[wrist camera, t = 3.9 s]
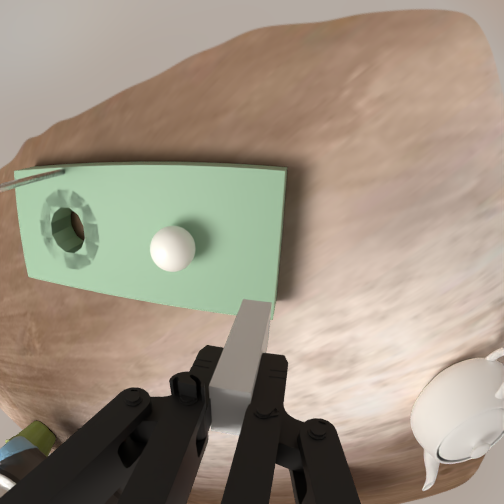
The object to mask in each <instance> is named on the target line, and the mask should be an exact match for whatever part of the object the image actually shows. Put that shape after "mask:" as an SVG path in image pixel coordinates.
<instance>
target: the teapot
mask: <svg viewBox="0 0 504 504" xmlns="http://www.w3.org/2000/svg"><path fill="white" fill-rule="evenodd" d="M502 356H504V347H503V348H500V349H498V350H496V351H494V352H492V353H491V354H489V355H488V356H487V357H485V358H473V359H468V360H465V361H461V362H459V363H456V364H454V365H452V366H450V367H448V368H446V369H445V370H443V371H442V372H440V373H439V374H438V375H437V376H436V377H435V378H434V379H433V380H432V381H431V382H430V383H429V384H428V385H427V386H426V387H425V388H424V389H423V391H422V392H421V393H420V395H419V396H418V398H417V400H416V402H415V404H414V406H413V409H412V413H411V428H412V431H413V434H414V436H415V438H416V440H417V441H418V442H419V444H420V445H421V446H422V447H423V448H424V462H425V467H426V482H425V484H424V487H423V489H422V491H426V490H427V489H429V488H430V487H431V486H432V485H433V484H434V482H435V480H436V477H437V473H438V469H439V464H440V463H445V464H454V463H460V462H464V461H467V460H470V459H476V458H479V457H481V456H483V455H484V454H486V453H487V452H488V451H489V449H490V448H491V447H492V446H494V445H495V444H496V443H497V442H498V441H499V440H500V439H501V438H502V437H503V436H504V365H503V364H502V363H500V362H499V361H497V360H496V359H498V358H500V357H502Z"/></svg>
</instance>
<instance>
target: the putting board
mask: <svg viewBox="0 0 504 504" xmlns="http://www.w3.org/2000/svg"><path fill="white" fill-rule="evenodd" d="M59 169H64V171H65V174H64V175H62V176H58V177H53V178H50V179H46V180H42V181H38V182H34V183H31V184H27V185H23V186H20V187H16V188H15V190H16V201H17V210H18V218H19V226H20V233H21V239H22V246H23V251H24V257H25V262H26V267H27V272H28V277H32V278H36V279H40V280H44V281H48V282H53V283H57V284H62V285H66V286H71V287H75V288H80V289H85V290H89V291H94V292H99V293H104V294H109V295H114V296H119V297H125V298H130V299H135V300H141V301H147V302H152V303H158V304H164V305H170V306H176V307H182V308H189V309H195V310H202V311H209V312H215V313H223V314H230V315H237V313H238V311H239V308H240V306H241V303H242V301H243V299H247V300H255V301H264V302H272V307H271V318H270V320H273V315H274V310H275V304H276V297H277V286H278V275H279V265H280V253H281V242H282V230H283V218H284V205H285V192H286V178H287V167H277V166H264V165H249V164H231V163H207V162H101V163H78V164H61V165H47V166H35V167H30V168H25V169H21V170H17V171H14V175H15V180H17V179H21V178H25V177H29V176H33V175H37V174H41V173H46V172H50V171H54V170H59ZM72 210H73V211H74V212H75V213H76V214H78V216H79V218H80V220H81V222H82V224H83V226H84V235H85V239H84V241H83V240H82V239H80V238H79V237H78V236H77V235H76V234H75V232H74V230H73V228H72V226H71V216H70V215H71V212H72ZM167 226H179V227H182V228H184V229H185V230H187V231H188V232H189V233H190V234H191V236H192V237H193V239H194V242H195V248H196V250H195V256H194V258H193V260H192V262H191V263H190V264H189V265H188V266H187V267H186V268H185V269H183V270H181V271H177V272H169V271H165V270H163V269H161V268H159V267H158V266H157V265H156V264H155V263H154V261H153V259H152V257H151V254H150V244H151V241H152V238H153V237H154V235H155V234H156V233H157V232H158V231H159V230H160V229H162V228H164V227H167Z"/></svg>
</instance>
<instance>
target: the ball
mask: <svg viewBox="0 0 504 504" xmlns="http://www.w3.org/2000/svg"><path fill="white" fill-rule="evenodd" d="M195 250H196V248H195V242H194V239H193V237H192V236H191V234H190V233H189V232H188V231H187V230H185V229H184V228H182V227H179V226H167V227H164V228H162V229H160V230H159V231H158V232H157V233H156V234H155V235H154V237H153V238H152V241H151V244H150V254H151V257H152V259H153V261H154V263H155V264H156V265H157V266H158V267H159V268H161V269H163V270H165V271H169V272H177V271H181V270H183V269H185V268H186V267H187V266H188V265H189V264H190V263H191V262H192V260H193V258H194V256H195Z"/></svg>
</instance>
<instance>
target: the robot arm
mask: <svg viewBox="0 0 504 504" xmlns="http://www.w3.org/2000/svg"><path fill="white" fill-rule="evenodd" d="M271 307H272V302H264V301H255V300H247V299H243V301H242V303H241V306H240V308H239V311H238V313H237V316H236V319H235V321H234V324H233V326H232V329H231V331H230V334H229V336H228V339H227V341H226V344H225V346H224V348H222V347H216V346H210V345H207V346H205V347H204V348H203V349H201V350H200V351H199V353H198V355H197V357H196V360H195V361H194V363H193V366H192V367H191V369H190V371H189V372H181V373H177V374H175V375H173V376H172V377H171V378H170V380H169V382H170V388H171V394H172V395H170V396H165V397H150V396H149V394H148V392H146V391H145V390H144V389H141V388H128V389H125V390H124V391H122V392H120V393H119V394H118V395H117V396H116V397H115V398H114V399H113V400H112V401H110V402H109V403H108V404H107V405H106V406H105V407H104V408H103V409H101V410H100V411H99V412H98V413H97V414H96V415H95V416H94V417H92V418H91V419H90V420H89V421H88V422H87V423H86V424H85V425H83V426H82V427H81V428H80V429H79V430H78V431H77V432H75V433H74V434H73V435H72V436H71V437H70V438H69V439H68V440H66V441H65V442H64V443H63V444H62V445H61V446H60V447H58V448H57V449H56V450H55V451H54V452H53V453H51V454H50V455H49V456H48V457H47V456H46V455H45V454H44V453H42V452H41V451H40V450H39V448H38V447H37V446H34V445H33V444H32V443H31V442H30V441H28V440H27V439H26V438H25V437H22V436H17V437H14V438H13V439H11V440H10V441H9V442H7V443H6V444H5V445H4V446H3V447H2V448H1V449H0V504H186V503H187V500H188V497H189V494H190V492H191V489H192V486H193V483H194V480H195V477H196V474H197V472H198V469H199V466H200V463H201V460H202V457H203V454H204V451H205V448H206V445H207V442H208V431H209V428H210V425H211V430H212V431H217V432H222V433H228V434H233V435H239V439H238V443H237V447H236V450H235V454H234V458H233V462H232V465H231V469H230V473H229V476H228V480H227V484H226V487H225V491H224V494H223V498H222V501H221V504H269V499H270V493H271V487H272V481H273V475H274V469H275V463H276V464H278V465H281V466H283V467H286V468H288V469H289V471H290V476H291V481H292V487H293V492H294V497H295V502H296V504H361V503H360V500H359V497H358V494H357V491H356V488H355V485H354V482H353V479H352V476H351V473H350V470H349V467H348V464H347V461H346V458H345V455H344V452H343V449H342V446H341V443H340V440H339V437H338V434H337V431H336V429H335V427H334V426H333V424H331V423H330V422H329V421H326V420H324V419H316V418H314V419H310V420H307V421H306V422H302V421H299V420H296V419H294V418H292V417H291V416H290V415H288V414H287V412H286V411H285V409H284V404H283V402H284V395H285V386H286V378H287V369H288V362H287V360H286V358H285V356H284V355H277V354H269V353H266V351H267V346H268V338H269V328H270V318H271Z"/></svg>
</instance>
